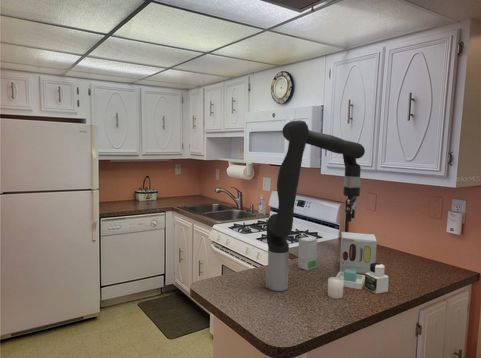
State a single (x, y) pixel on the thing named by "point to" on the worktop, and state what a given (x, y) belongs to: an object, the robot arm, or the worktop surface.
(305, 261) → the skincare box
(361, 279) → the tray
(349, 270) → the block
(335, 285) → the white rounded dome
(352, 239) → the supplement box
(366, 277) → the medicine bottle
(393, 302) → the worktop surface
